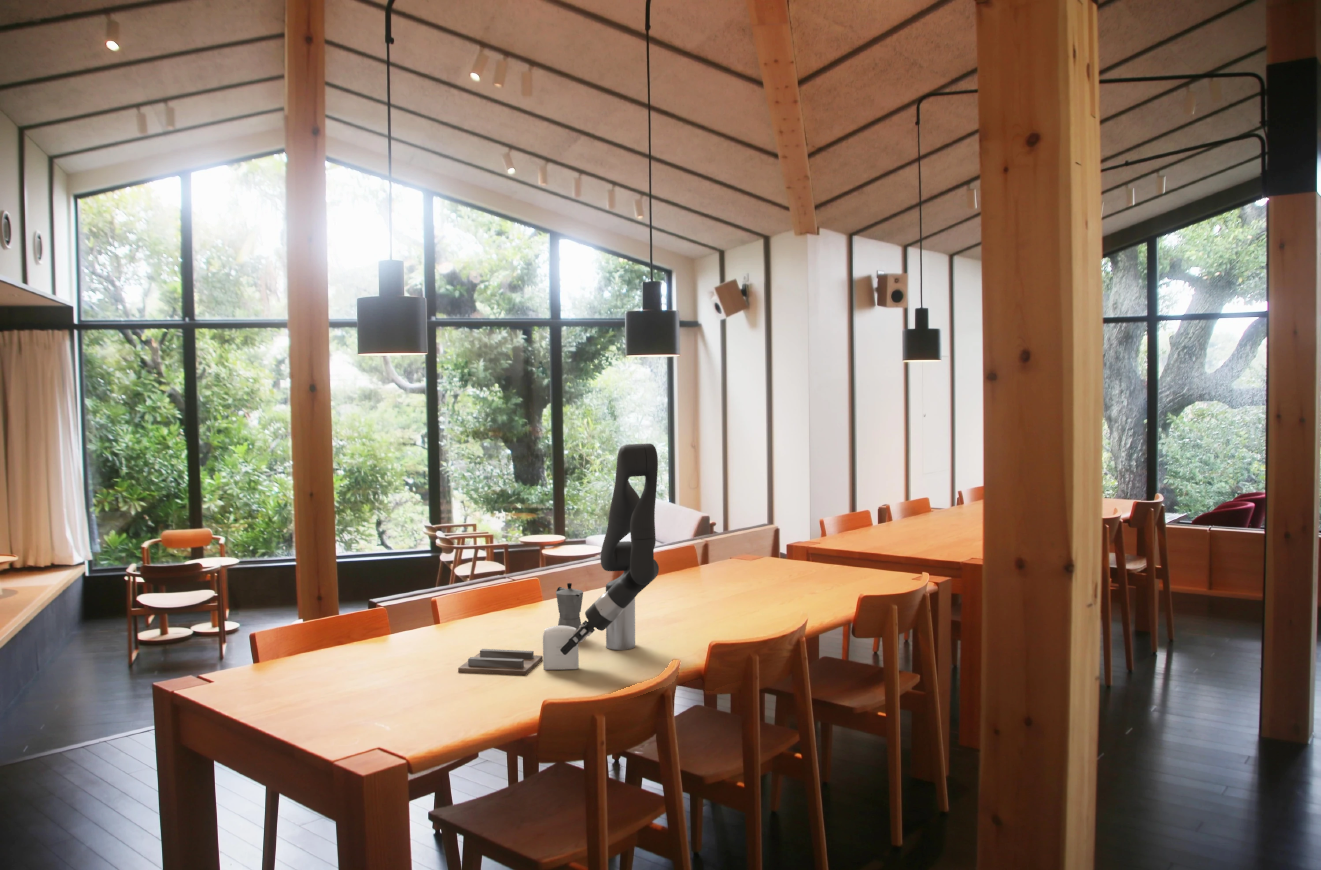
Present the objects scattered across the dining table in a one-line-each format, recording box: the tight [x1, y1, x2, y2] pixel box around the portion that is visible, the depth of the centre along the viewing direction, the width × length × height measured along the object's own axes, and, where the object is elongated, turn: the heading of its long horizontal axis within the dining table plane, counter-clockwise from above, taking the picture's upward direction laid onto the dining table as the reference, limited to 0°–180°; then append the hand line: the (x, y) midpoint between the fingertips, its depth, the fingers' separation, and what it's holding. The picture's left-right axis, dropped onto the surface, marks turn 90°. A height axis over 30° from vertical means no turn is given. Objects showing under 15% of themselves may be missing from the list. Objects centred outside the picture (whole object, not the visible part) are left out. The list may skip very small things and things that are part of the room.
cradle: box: [457, 648, 543, 676], centre depth 253 cm, size 16×20×3 cm
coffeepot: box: [555, 582, 584, 629], centre depth 286 cm, size 15×9×18 cm, turn 33°
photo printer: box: [542, 625, 580, 671], centre depth 250 cm, size 10×4×12 cm, turn 90°
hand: (566, 648), depth 249 cm, fingers open, 8 cm apart
